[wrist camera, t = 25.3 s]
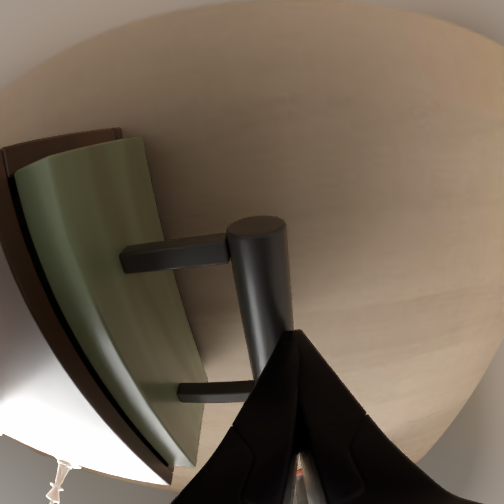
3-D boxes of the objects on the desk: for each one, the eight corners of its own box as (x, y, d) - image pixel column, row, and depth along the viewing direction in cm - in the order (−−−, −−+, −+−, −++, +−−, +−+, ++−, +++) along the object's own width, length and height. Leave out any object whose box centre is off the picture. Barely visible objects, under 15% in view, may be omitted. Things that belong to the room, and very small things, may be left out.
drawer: (266, 113, 8) (282, 99, 4) (290, 373, 13) (301, 464, 9) (-34, 205, 9) (-96, 243, 5) (40, 367, 14) (9, 421, 10)
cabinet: (120, 126, 9) (-21, 153, 3) (191, 374, 15) (171, 485, 9) (-40, 200, 10) (-114, 246, 4) (32, 362, 16) (-7, 427, 9)
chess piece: (56, 454, 26) (38, 504, 16) (48, 443, 24) (27, 498, 15) (85, 468, 26) (69, 520, 17) (80, 458, 24) (62, 516, 15)
